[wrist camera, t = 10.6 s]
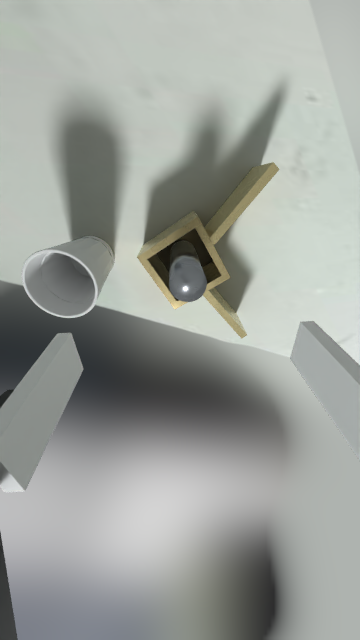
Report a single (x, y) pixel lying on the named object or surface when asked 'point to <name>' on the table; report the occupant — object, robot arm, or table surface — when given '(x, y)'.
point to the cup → (68, 276)
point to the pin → (186, 273)
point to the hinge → (208, 243)
